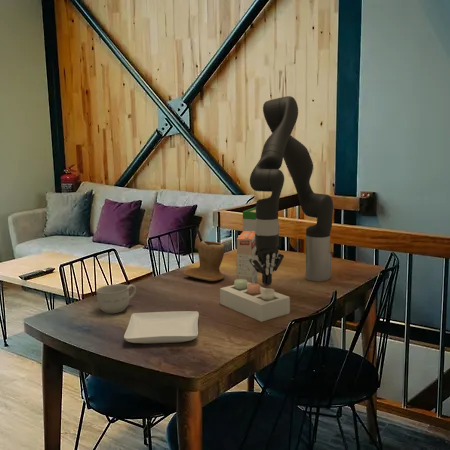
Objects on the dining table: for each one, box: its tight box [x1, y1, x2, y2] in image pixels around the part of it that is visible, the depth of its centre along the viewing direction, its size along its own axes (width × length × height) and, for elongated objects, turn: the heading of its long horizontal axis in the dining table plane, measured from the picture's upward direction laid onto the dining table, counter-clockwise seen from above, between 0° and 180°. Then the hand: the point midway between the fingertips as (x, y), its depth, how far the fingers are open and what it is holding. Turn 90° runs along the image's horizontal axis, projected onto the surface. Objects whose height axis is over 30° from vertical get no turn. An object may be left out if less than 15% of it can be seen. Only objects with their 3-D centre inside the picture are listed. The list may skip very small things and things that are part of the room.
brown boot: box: [183, 240, 226, 282], centre depth 226 cm, size 15×12×15 cm
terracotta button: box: [247, 283, 262, 295], centre depth 191 cm, size 4×4×3 cm
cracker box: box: [236, 230, 258, 284], centre depth 210 cm, size 14×6×21 cm, turn 168°
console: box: [219, 282, 291, 323], centre depth 191 cm, size 12×22×6 cm, turn 36°
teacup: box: [95, 283, 137, 314], centre depth 192 cm, size 14×11×8 cm
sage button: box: [233, 278, 247, 290], centre depth 196 cm, size 4×4×3 cm
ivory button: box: [261, 287, 275, 301], centre depth 185 cm, size 4×4×3 cm
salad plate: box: [123, 310, 200, 344], centre depth 172 cm, size 21×21×3 cm
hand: (266, 284), depth 184 cm, fingers closed
